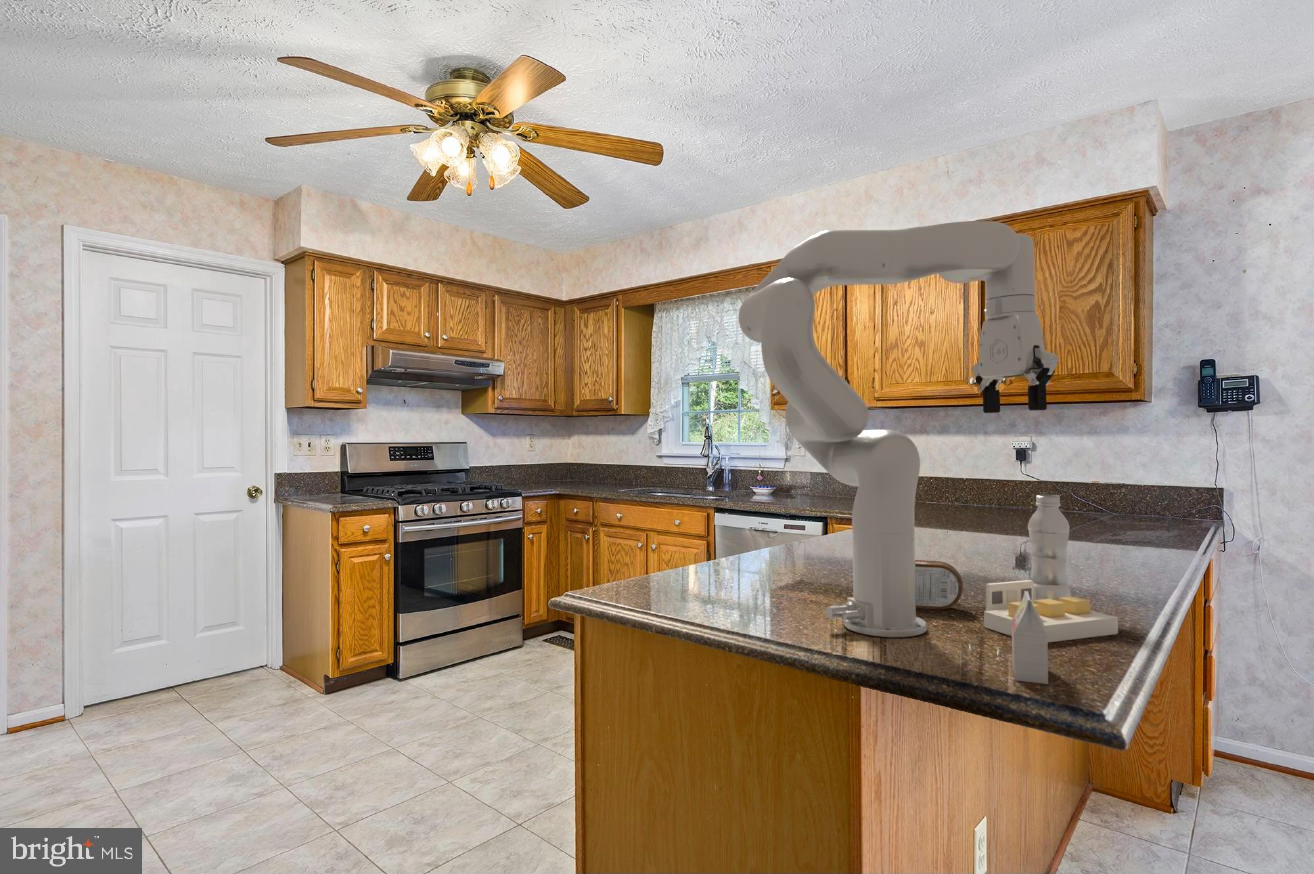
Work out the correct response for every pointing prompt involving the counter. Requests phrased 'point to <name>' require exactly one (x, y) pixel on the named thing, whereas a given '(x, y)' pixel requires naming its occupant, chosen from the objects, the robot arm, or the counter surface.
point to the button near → (1014, 606)
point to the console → (1059, 625)
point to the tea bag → (1029, 644)
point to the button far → (1076, 605)
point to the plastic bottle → (1049, 549)
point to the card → (1006, 593)
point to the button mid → (1050, 608)
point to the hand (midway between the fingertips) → (1013, 411)
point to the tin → (937, 585)
